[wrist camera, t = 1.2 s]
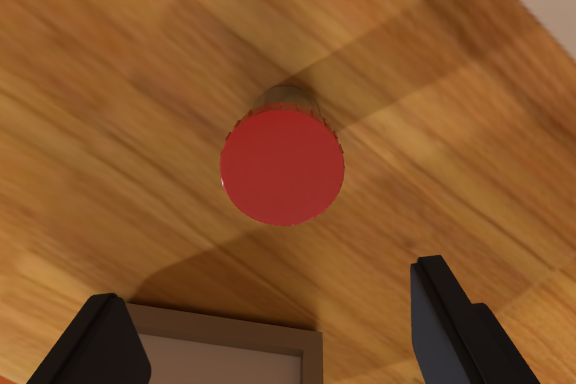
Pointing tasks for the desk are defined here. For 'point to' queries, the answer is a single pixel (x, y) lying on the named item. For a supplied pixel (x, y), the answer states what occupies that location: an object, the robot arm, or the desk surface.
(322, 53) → the desk surface
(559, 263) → the desk surface
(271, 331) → the photo frame
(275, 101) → the jam jar
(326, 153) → the jam lid
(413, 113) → the desk surface
